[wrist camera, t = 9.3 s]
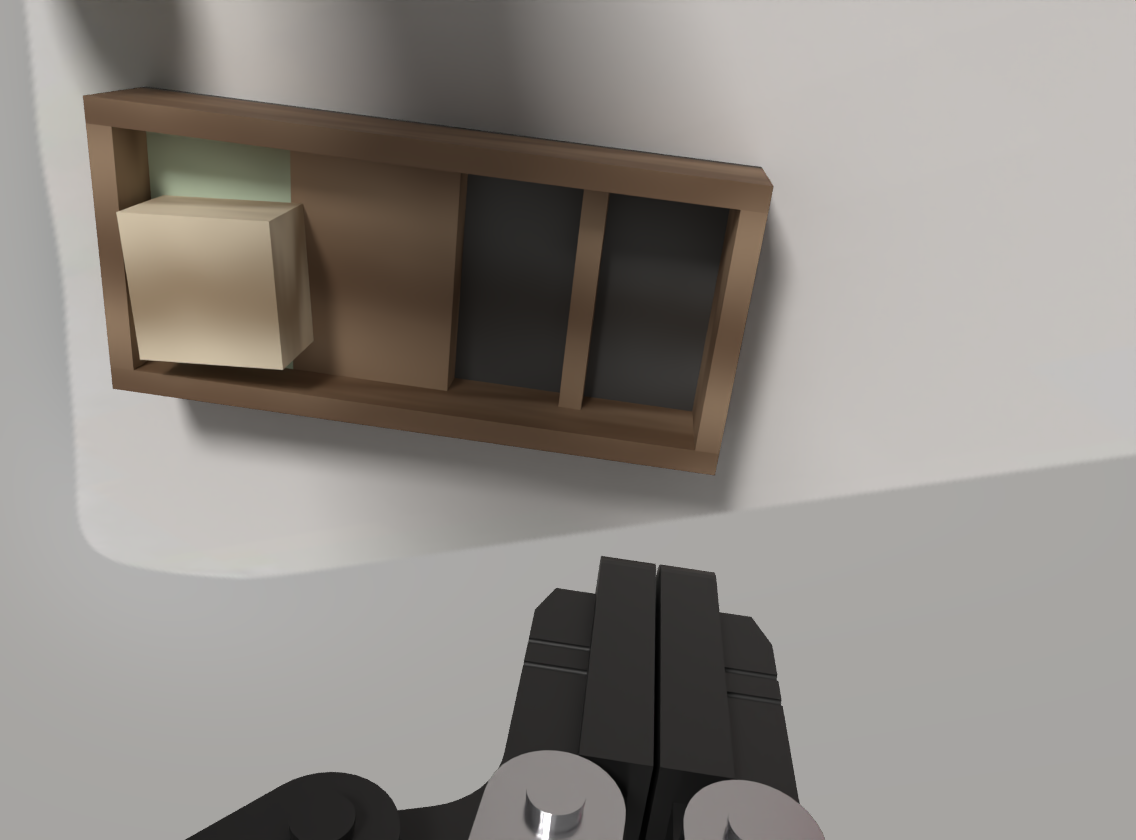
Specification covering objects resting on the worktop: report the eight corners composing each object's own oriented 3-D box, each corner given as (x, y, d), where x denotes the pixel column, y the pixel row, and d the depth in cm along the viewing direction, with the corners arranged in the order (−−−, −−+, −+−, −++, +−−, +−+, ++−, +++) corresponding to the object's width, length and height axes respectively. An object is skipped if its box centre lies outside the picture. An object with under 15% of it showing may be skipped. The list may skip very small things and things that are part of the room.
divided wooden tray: (144, 86, 39) (82, 95, 34) (761, 167, 37) (773, 186, 33) (164, 353, 43) (112, 388, 39) (709, 430, 42) (714, 475, 38)
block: (162, 195, 38) (116, 212, 35) (302, 203, 38) (268, 221, 35) (182, 331, 41) (140, 359, 37) (313, 340, 40) (282, 369, 37)
